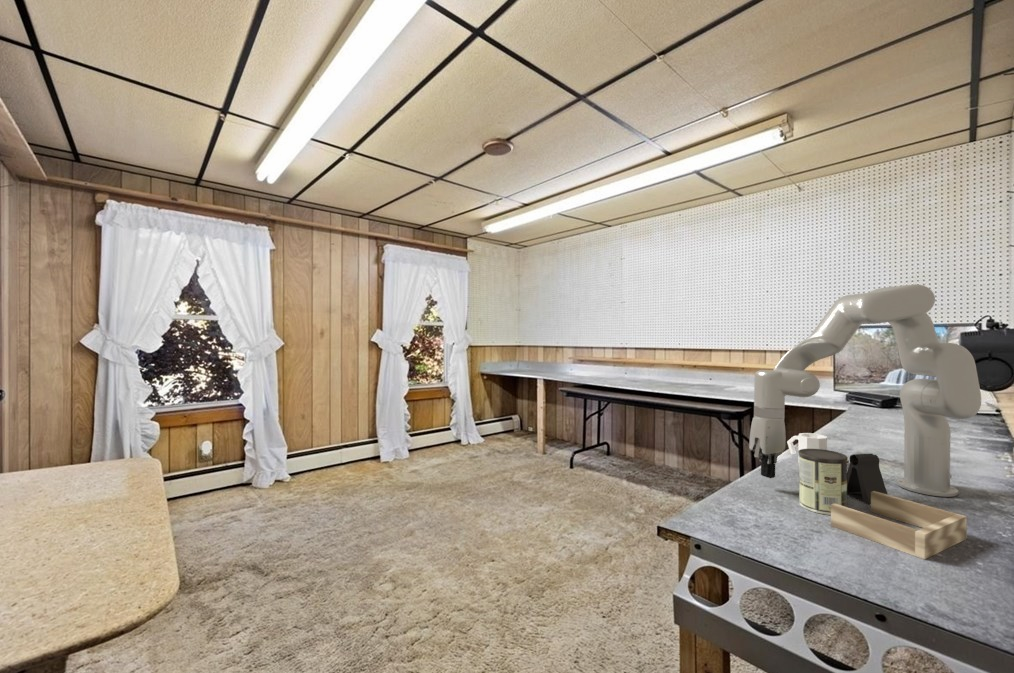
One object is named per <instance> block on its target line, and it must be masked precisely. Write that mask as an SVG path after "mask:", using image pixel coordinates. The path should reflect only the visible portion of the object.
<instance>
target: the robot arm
mask: <svg viewBox="0 0 1014 673" xmlns="http://www.w3.org/2000/svg"><path fill="white" fill-rule="evenodd" d="M935 303H936V296H935V293H934V291H933V290H932V289H930V287H928V286H926V285H922V284H918V283H917V284H906V285H897V286H886V287H881V288H879V287H878V288H876V289H872V290H871V291H869V292H866V293H856V294H848V295H843V296H841V297H839V298H838V299H837V300H836V301H834V303H833V304H832V305H831V307H830V308H829V309H828V311H827V312H826V313H825V315H824V316H823V318H822V319H821V320H820V321H819V323H818V324H817V325H816V327H815V328H814V330H813V331H812V333H811V334H809V336H807V337H806V338H804V339H803V340H802V341H800V342H799V343H797V344H796V345H794V347H792V348H791V349H789V350H788V351H787V352H786V353H785V354H784V355H783V356H782V357H781V359H779V361H778V362H777V364H776V365H775V366H774V367H773V369H759V370H757V371H756V372H755V373H754V390H753V392H754V394H753V396H754V398H753V417H752V421H751V425H750V432H749V443H748V444H749V446H748V447H749V448H748V449H749V451H751V452H754V454H753V456H754V458H757V459H759V462H760V476H762V477H765V478H768V479H773V478H775V477H776V464H777V462H778V461H777V460H778V457H779V456H781V455H782V454H783V452H784V451H785V449H786V443H787V441H786V425H785V412H786V411H785V407H786V406H785V404H786V402H785V401H786V400H785V399H786V397H787V396H789V397H795V398H796V397H797V398H808V397H812V396H814V395H816V394H817V393H818V392H819V391H820V386H821V383H820V380H819V378H818V377H817V376H816V375H815V374H814V373H811V372H809V371H807V370H806V369H807V368H809V366H811V365H812V364H814V363H816V362H818V361H820V360H824V359H825V358H829V357H831V356H834V355H836V354H838V353H840V352H842V351H843V350H844V349H845V347H846V346H847V344H848V343H849V342H850V341H851V339H852V338H853V336H854V335H855V333H856V332H857V331H858V329H859V328H860V327H861V325H873V324H874V325H876V324H884V323H888V324H889V325H890V327H891V328H892V330H893V332H894V336H895V339H896V346H897V351H898V355H899V356H898V357H899V360H900V366H901V368H902V369H903V370H904V371H905V372H907V373H909V374H911V375H917V376H925V377H934V378H936V379H931V378H929V379H928V378H915V379H911V380H908V381H907V382H904V384H903V385H902V386H901V388H900V391H899V399H900V404H901V408H902V412H903V422H904V424H903V425H904V432H903V433H904V436H903V437H904V438H903V439H904V440H903V442H904V443H903V444H904V446H903V447H904V450H903V451H904V453H903V454H904V455H903V456H904V459H903V460H904V461H903V463H904V464H903V465H904V469H903V470H904V473H903V475H904V477H900V478H898V479H897V480H896V484H897V486H899V487H901V489H902V488H903V489H905V490H907V491H911V492H913V493H918V494H922V495H927V496H934V497H945V498H947V497H948V498H950V497H951V498H952V497H957V496H958V495H959V490H958V488H956V487H954V486H952V485H951V479H952V476H953V475H952V474H951V438H952V437H951V427H950V425H949V422H948V420H947V418H952V419H961V420H962V419H965V420H966V419H969V418H972V417H974V416H976V415H977V413H978V412H979V411H980V409H981V406H982V393H981V388H980V382H979V376H978V370H977V366H976V361H975V359H974V356H973V355H972V353H971V351H969V350H968V349H967V348H966V347H965V346H963V345H960V344H958V343H953V342H940V341H939V339H938V336H937V332H936V328H935V325H934V322H933V320H932V318H931V317H930V315H929V314H928V312H930V311H931V310H932V309H933V307H934V305H935ZM946 417H947V418H946Z"/></svg>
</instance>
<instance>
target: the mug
mask: <svg viewBox="0 0 1014 673" xmlns="http://www.w3.org/2000/svg"><path fill="white" fill-rule="evenodd" d="M796 440H798V444H797V445H798V448H797V449H798V451H799V450H801V449H823V450H828V436H827V435H823V434H819V433H812V432H802V433H801V432H799V433H798V435H793V436H791V438H790V439H788V440H787V441H786V443H787V446H788V450H789V453H790V455H791V456H792V455H796V454H797V452H798V451H797V450H796V447H795V445H794V442H795V441H796ZM797 460H798V462H797V463H798V465H799V452H798V458H797Z"/></svg>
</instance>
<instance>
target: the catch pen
mask: <svg viewBox="0 0 1014 673" xmlns="http://www.w3.org/2000/svg"><path fill="white" fill-rule="evenodd" d="M887 494H888V493H887ZM887 494H883V493H880V492H876V491H872V492H871V505H870V512H871V513H875V514H877V515H881V516H883V517H887V518H890V519H893V520H897V521H899V522H903V523H907V524H909V525H913V526H915V527H920V529H917V528H914V527H910V526H907V525H904V524H902V523H901V524H900V523H898V522H894V521H891V520H888V519H885V518H881V517H879V516H876V515H873V514H870V513H865V512H863V511H860V510H856V509H853V508H850V507H848V506H847V507H844V506H841V505H838V504H835V503H834V504H831V515H830V527H834V528H836V529H839V530H842V531H844V532H848V533H851V534H853V535H855V536H858V537H861V538H864V539H867V540H870V541H873V542H876V543H877V544H881V545H884V546H886V547H889V548H892V549H894V550H897V551H899V552H900V551H901V552H903V553H906V554H907V555H911V556H913V557H917V558H919V559H921V560H926V559H928V558H930V557H933V556H935V555H937V554H939V553H941V552H943V551H945V550H947V549H949V548H952V547H953V546H955V545H957V544H959V543H961V542H964V541H966V540H967V531H968V530H967V524H968V523H967V522H968V521H967V519H968V518H967V516H966V515H963V514H959V513H956V512H953V511H949V510H945V509H942V508H941V509H940V508H938V507H933V506H930V505H927V504H923V503H919V502H916V501H912V500H908V499H905V498H901V497H896V496H893V495H889V494H888V495H887Z"/></svg>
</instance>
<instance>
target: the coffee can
mask: <svg viewBox="0 0 1014 673" xmlns="http://www.w3.org/2000/svg"><path fill="white" fill-rule="evenodd" d="M797 452H799V464H798V469H799V470H798V473H799V474H798V475H799V476H798V477H799V479H798V481H799V486H798V487H799V489H798V490H799V492H798V493H799V501H798V504H799V506H800V507H801V508H803V509H805V510H808V511H810V512H813V513H817V514H821V515H825V516H826V515H827V516H831V504H834V503H835V504H838V505H841V506H844V507H848V496H847V471H848V466H847V465H848V463H847V460H848V455H846V454H844V453H841V452H838V451H834V450H828V449H827V450H823V449H801V450H799V451H797Z"/></svg>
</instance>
